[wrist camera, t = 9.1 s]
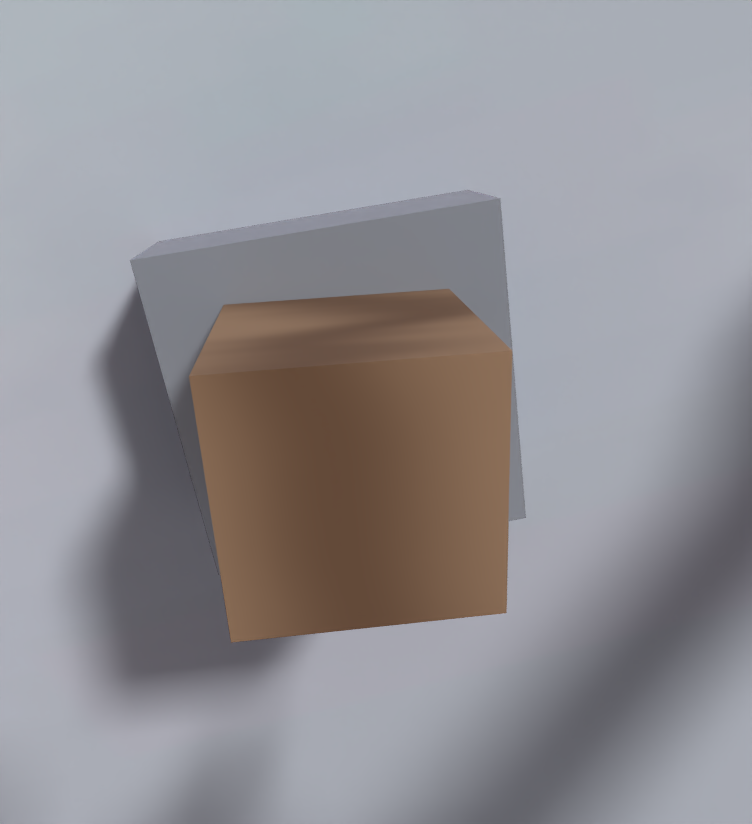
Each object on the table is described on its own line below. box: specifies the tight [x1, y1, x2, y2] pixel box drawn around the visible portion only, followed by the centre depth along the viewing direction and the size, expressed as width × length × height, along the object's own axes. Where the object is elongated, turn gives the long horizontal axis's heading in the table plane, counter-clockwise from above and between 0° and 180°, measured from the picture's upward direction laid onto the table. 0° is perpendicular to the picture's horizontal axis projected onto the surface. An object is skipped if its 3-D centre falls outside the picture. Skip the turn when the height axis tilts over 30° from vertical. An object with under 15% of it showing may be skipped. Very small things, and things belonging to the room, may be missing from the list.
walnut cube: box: [189, 289, 512, 642], centre depth 14 cm, size 5×5×5 cm
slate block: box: [130, 190, 526, 575], centre depth 18 cm, size 8×8×4 cm
